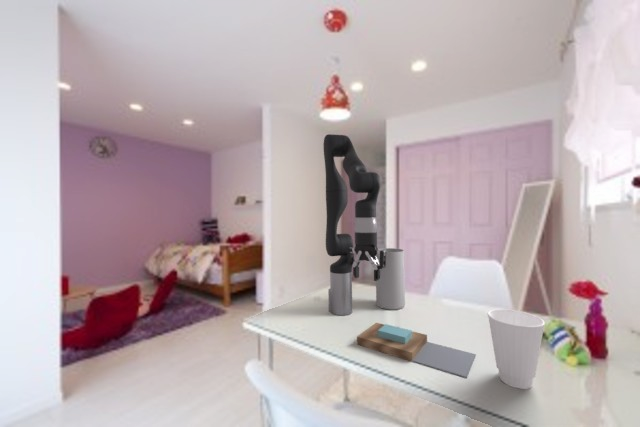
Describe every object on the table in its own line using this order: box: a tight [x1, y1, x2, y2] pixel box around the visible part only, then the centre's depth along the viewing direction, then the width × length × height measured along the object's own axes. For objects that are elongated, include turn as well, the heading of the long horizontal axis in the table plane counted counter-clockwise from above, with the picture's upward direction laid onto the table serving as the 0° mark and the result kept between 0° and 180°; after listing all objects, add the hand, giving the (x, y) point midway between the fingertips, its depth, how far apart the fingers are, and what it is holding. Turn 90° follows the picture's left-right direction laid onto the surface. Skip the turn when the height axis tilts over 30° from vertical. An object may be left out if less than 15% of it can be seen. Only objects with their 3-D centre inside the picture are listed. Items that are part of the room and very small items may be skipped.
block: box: [356, 322, 428, 362], centre depth 92 cm, size 18×14×2 cm
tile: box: [378, 323, 413, 344], centre depth 92 cm, size 9×6×2 cm, turn 53°
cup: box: [487, 308, 546, 390], centre depth 72 cm, size 12×12×16 cm
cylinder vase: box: [375, 247, 406, 311], centre depth 128 cm, size 12×12×25 cm
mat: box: [411, 341, 477, 379], centre depth 83 cm, size 14×14×1 cm
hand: (366, 279), depth 97 cm, fingers open, 7 cm apart
